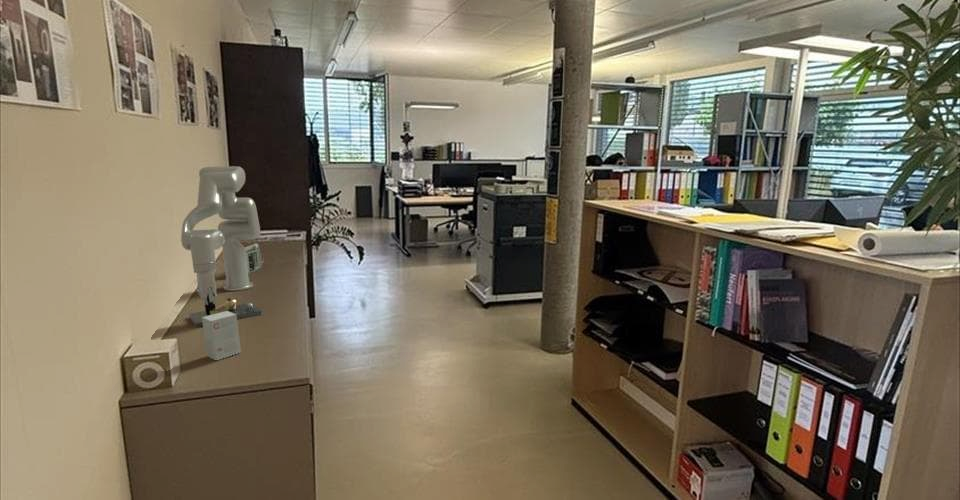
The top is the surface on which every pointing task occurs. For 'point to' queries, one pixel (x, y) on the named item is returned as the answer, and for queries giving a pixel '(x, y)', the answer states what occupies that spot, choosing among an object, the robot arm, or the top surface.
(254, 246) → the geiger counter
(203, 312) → the flat grey rectangular plate
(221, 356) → the small box
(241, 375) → the top surface
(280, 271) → the top surface
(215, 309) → the lever with round hub
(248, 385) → the top surface
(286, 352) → the top surface
